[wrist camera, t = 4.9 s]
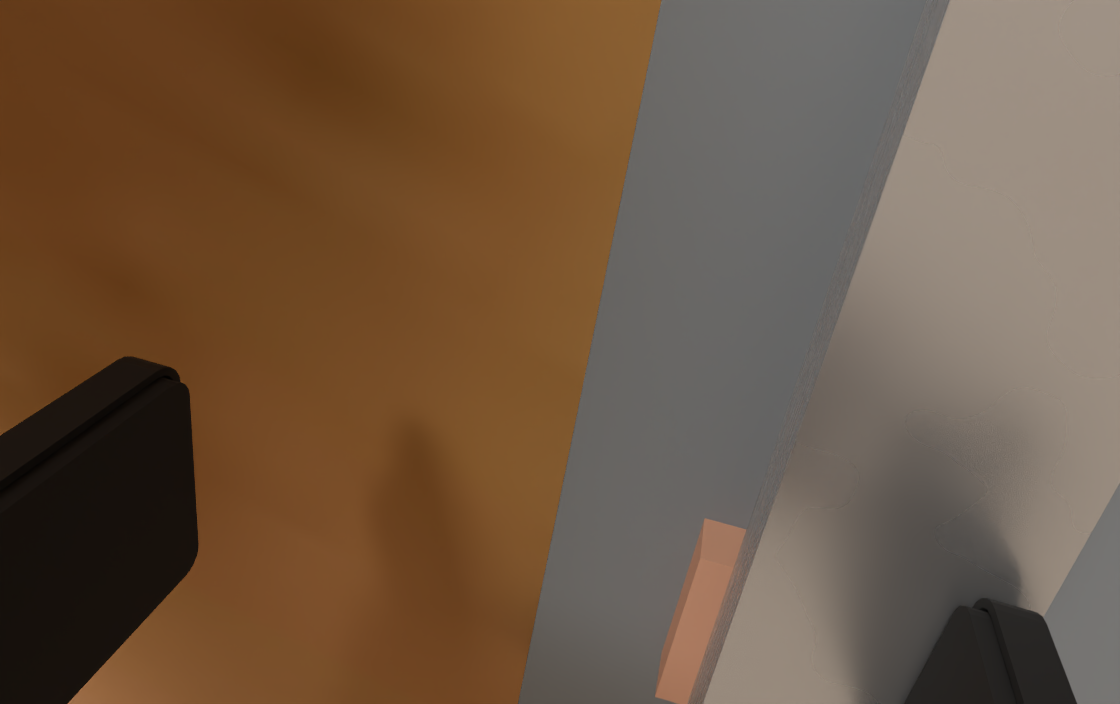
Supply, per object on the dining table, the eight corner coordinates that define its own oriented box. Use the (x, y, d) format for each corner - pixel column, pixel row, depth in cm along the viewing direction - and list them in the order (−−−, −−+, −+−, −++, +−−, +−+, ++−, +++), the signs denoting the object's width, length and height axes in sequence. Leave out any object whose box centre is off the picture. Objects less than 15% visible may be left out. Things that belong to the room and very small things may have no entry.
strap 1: (1333, -1230, 5) (1574, -1728, 3) (1919, -1218, 5) (2452, -1759, 3) (675, 728, 12) (664, 828, 11) (880, 790, 12) (898, 901, 10)
